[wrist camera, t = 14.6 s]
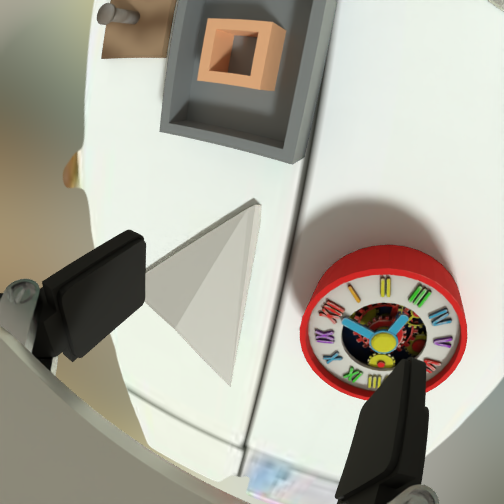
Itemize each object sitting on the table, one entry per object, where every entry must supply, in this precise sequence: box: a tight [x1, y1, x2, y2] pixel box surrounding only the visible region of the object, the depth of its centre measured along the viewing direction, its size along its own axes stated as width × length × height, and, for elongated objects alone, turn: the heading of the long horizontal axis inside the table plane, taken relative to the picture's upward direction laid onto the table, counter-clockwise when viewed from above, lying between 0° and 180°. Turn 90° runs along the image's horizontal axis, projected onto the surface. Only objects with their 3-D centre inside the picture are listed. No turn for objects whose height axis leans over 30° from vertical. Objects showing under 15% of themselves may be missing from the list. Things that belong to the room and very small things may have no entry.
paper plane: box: [144, 204, 261, 387], centre depth 45 cm, size 26×28×4 cm
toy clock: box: [300, 245, 467, 400], centre depth 35 cm, size 20×6×20 cm
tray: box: [160, 0, 337, 164], centre depth 28 cm, size 20×16×4 cm
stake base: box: [97, 0, 176, 59], centre depth 30 cm, size 12×12×7 cm
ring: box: [197, 18, 286, 91], centre depth 28 cm, size 7×7×4 cm
